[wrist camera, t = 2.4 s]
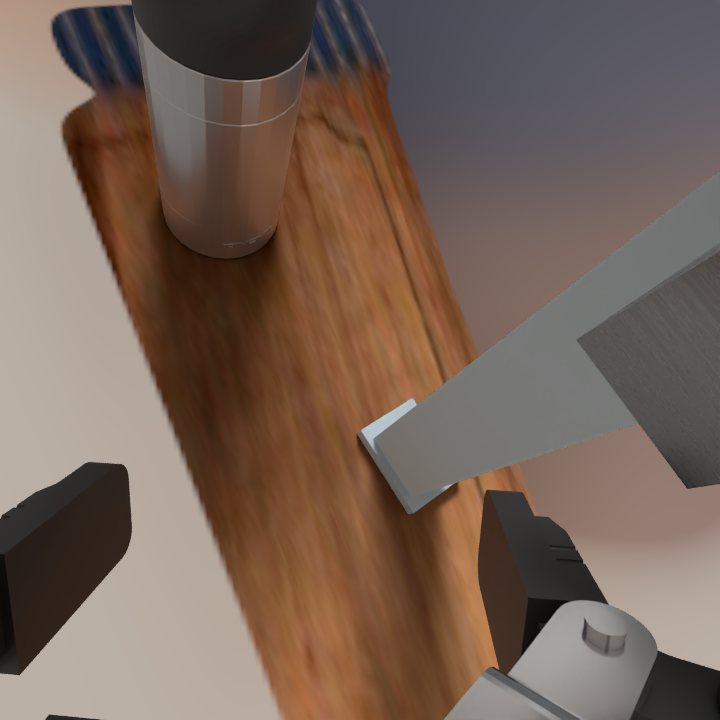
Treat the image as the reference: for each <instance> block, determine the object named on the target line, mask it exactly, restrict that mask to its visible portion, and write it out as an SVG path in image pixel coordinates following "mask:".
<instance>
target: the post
mask: <svg viewBox="0 0 720 720" xmlns="http://www.w3.org/2000/svg"><path fill="white" fill-rule="evenodd" d="M718 243H720V171H719V172H718V173H716V174H715V175H714V176H713V177H711V178H710V179H709V180H707V181H706V182H705V183H704V184H702V185H701V186H700V187H698V188H697V189H696V190H695V191H693V192H692V193H691V194H689V195H688V196H687V197H685V198H684V199H683V200H681V201H680V202H679V203H678V204H676V205H675V206H674V207H672V208H671V209H670V210H669V211H667V212H666V213H665V214H664V215H662V216H661V217H660V218H658V219H657V220H656V221H654V222H653V223H652V224H650V225H649V226H648V227H647V228H645V229H644V230H643V231H641V232H640V233H639V234H638V235H637V236H635V237H634V238H632V239H631V240H630V241H628V242H627V243H626V244H625V245H623V246H622V247H621V248H619V249H618V250H617V251H615V252H614V253H613V254H612V255H610V256H609V257H608V258H606V259H605V260H604V261H603V262H601V263H600V264H599V265H597V266H596V267H595V268H593V269H592V270H591V271H590V272H588V273H587V274H586V275H584V276H583V277H582V278H581V279H579V280H578V281H577V282H575V283H574V284H573V285H572V286H570V287H569V288H568V289H566V290H565V291H564V292H562V293H561V294H560V295H559V296H557V297H556V298H555V299H553V300H552V301H551V302H550V303H548V304H547V305H546V306H544V307H543V308H542V309H540V310H539V311H538V312H537V313H535V314H534V315H533V316H531V317H530V318H529V319H528V320H526V321H525V322H524V323H522V324H521V325H520V326H518V327H517V328H516V329H515V330H513V331H512V332H511V333H509V334H508V335H507V336H505V337H504V338H503V339H502V340H500V341H499V342H498V343H496V344H495V345H494V346H493V347H491V348H490V349H489V350H487V351H486V352H485V353H484V354H482V355H481V356H480V357H478V358H477V359H476V360H474V361H473V362H472V363H471V364H469V365H468V366H467V367H465V368H464V369H463V370H461V371H460V372H459V373H458V374H456V375H455V376H454V377H452V378H451V379H450V380H449V381H447V382H446V383H445V384H443V385H442V386H441V387H439V388H438V389H437V390H436V391H434V392H433V393H432V394H430V395H429V396H428V397H427V398H425V399H424V400H423V401H421V402H420V403H419V404H416V402H415V401H414V399H413V398H412V399H410V400H409V401H407V402H405V403H404V404H402V405H401V406H399V407H397V408H396V409H394V410H393V411H391V412H389V413H388V414H386V415H385V416H383V417H381V418H380V419H378V420H377V421H375V422H373V423H372V424H370V425H369V426H367V427H365V428H364V429H362V430H361V431H360V432H358V433H357V435H358V436H359V438H360V440H361V441H362V443H363V444H364V446H365V447H366V449H367V451H368V452H369V454H370V455H371V457H372V458H373V460H374V462H375V463H376V465H377V466H378V468H379V469H380V471H381V473H382V474H383V476H384V477H385V479H386V480H387V482H388V484H389V485H390V487H391V488H392V490H393V491H394V493H395V495H396V496H397V498H398V499H399V501H400V502H401V504H402V506H403V507H404V509H405V510H406V512H407V513H408V514H412V513H415V512H416V511H417V510H419V509H420V508H422V507H423V506H424V505H426V504H427V503H428V502H430V501H431V500H432V499H434V498H435V497H436V496H438V495H439V494H440V493H442V492H443V491H445V490H446V489H447V488H449V487H450V486H451V485H453V484H454V483H457V482H460V481H463V480H466V479H469V478H472V477H475V476H478V475H481V474H485V473H488V472H491V471H494V470H497V469H500V468H503V467H506V466H509V465H512V464H515V463H519V462H521V461H525V460H528V459H531V458H534V457H537V456H540V455H543V454H546V453H549V452H552V451H556V450H558V449H562V448H565V447H568V446H571V445H574V444H577V443H580V442H583V441H586V440H590V439H593V438H596V437H599V436H602V435H605V434H608V433H611V432H614V431H617V430H620V429H623V428H627V427H630V426H633V425H636V424H639V423H638V422H637V421H636V419H635V418H634V417H633V415H632V414H631V413H630V411H629V410H628V408H627V407H626V406H625V404H624V403H623V402H622V400H621V399H620V398H619V396H618V395H617V394H616V392H615V391H614V390H613V388H612V387H611V386H610V384H609V383H608V382H607V380H606V379H605V378H604V376H603V375H602V374H601V372H600V371H599V370H598V368H597V367H596V366H595V364H594V363H593V362H592V360H591V359H590V358H589V356H588V355H587V354H586V352H585V351H584V350H583V348H582V347H581V346H580V344H579V343H578V342H577V340H576V339H578V338H579V337H581V336H582V335H584V334H585V333H587V332H588V331H590V330H591V329H593V328H594V327H596V326H597V325H598V324H600V323H601V322H603V321H604V320H606V319H607V318H609V317H610V316H612V315H613V314H615V313H616V312H618V311H619V310H621V309H622V308H624V307H625V306H627V305H628V304H630V303H631V302H633V301H634V300H636V299H637V298H638V297H640V296H641V295H643V294H644V293H646V292H647V291H649V290H650V289H652V288H653V287H655V286H656V285H658V284H659V283H661V282H662V281H664V280H665V279H667V278H668V277H670V276H671V275H673V274H674V273H676V272H677V271H678V270H680V269H681V268H683V267H684V266H686V265H687V264H689V263H690V262H692V261H693V260H695V259H696V258H698V257H699V256H701V255H702V254H704V253H705V252H707V251H708V250H710V249H711V248H713V247H714V246H715V245H717V244H718Z"/></svg>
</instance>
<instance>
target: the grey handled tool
mask: <svg viewBox="0 0 720 720" xmlns="http://www.w3.org/2000/svg"><path fill="white" fill-rule="evenodd" d="M576 340H577V342H578V343H579V344H580V346H581V347H582V348H583V350H584V351H585V352H586V354H587V355H588V356H589V358H590V359H591V360H592V362H593V363H594V364H595V366H596V367H597V368H598V370H599V371H600V372H601V374H602V375H603V376H604V378H605V379H606V380H607V382H608V383H609V384H610V386H611V387H612V388H613V390H614V391H615V392H616V394H617V395H618V396H619V398H620V399H621V400H622V402H623V403H624V404H625V406H626V407H627V408H628V410H629V411H630V413H631V414H632V415H633V417H634V418H635V419H636V421H637V422H638V423H639V425H640V426H641V427H642V428H643V430H644V431H645V433H646V434H647V435H648V436H649V438H650V439H651V440H652V442H653V443H654V444H655V446H656V447H657V449H658V450H659V451H660V453H661V454H662V455H663V457H664V458H665V459H666V461H667V462H668V463H669V464H670V466H671V467H672V469H673V470H674V471H675V473H676V474H677V475H678V477H679V478H680V479H681V481H682V482H683V483H684V485H685V486H686V488H688V489H690V488H696V487H703V486H709V485H715V484H720V243H718V244H717V245H715V246H714V247H713V248H711V249H710V250H708V251H707V252H705V253H704V254H702V255H701V256H699V257H698V258H696V259H695V260H693V261H692V262H690V263H689V264H687V265H686V266H684V267H683V268H681V269H680V270H678V271H677V272H676V273H674V274H673V275H671V276H670V277H668V278H667V279H665V280H664V281H662V282H661V283H659V284H658V285H656V286H655V287H653V288H652V289H650V290H649V291H647V292H646V293H644V294H643V295H641V296H640V297H638V298H637V299H636V300H634V301H633V302H631V303H630V304H628V305H627V306H625V307H624V308H622V309H621V310H619V311H618V312H616V313H615V314H613V315H612V316H610V317H609V318H607V319H606V320H604V321H603V322H601V323H600V324H598V325H597V326H596V327H594V328H593V329H591V330H590V331H588V332H587V333H585V334H584V335H582V336H581V337H579V338H578V339H576Z"/></svg>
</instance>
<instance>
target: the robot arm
mask: <svg viewBox="0 0 720 720" xmlns="http://www.w3.org/2000/svg"><path fill="white" fill-rule="evenodd" d="M316 6H317V0H132V7H133V12H134V19H135V26H136V32H137V39H138V46H139V52H140V58H141V64H142V71H143V77H144V84H145V91H146V98H147V104H148V111H149V118H150V125H151V132H152V138H153V145H154V152H155V159H156V165H157V172H158V180H159V187H160V194H161V201H162V207H163V214H164V217H165V220H166V224H167V226H168V227H169V229H170V231H171V232H172V234H173V235H174V236H175V237H176V238H177V239H178V240H179V241H180V242H181V243H182V244H184V245H185V246H186V247H188V248H189V249H191V250H193V251H195V252H197V253H200V254H202V255H206V256H209V257H213V258H224V259H228V258H238V257H242V256H245V255H249V254H251V253H253V252H255V251H257V250H259V249H260V248H261V247H263V246H264V245H265V244H266V243H267V242H268V241H269V240H270V238H271V237H272V235H273V234H274V231H275V229H276V226H277V222H278V217H279V211H280V206H281V200H282V196H283V190H284V185H285V179H286V174H287V169H288V163H289V158H290V152H291V147H292V141H293V136H294V130H295V125H296V119H297V114H298V109H299V103H300V98H301V92H302V87H303V80H304V75H305V69H306V64H307V58H308V53H309V47H310V42H311V36H312V31H313V25H314V18H315V12H316ZM131 533H132V523H131V508H130V492H129V477H128V472H127V469H126V467H125V466H124V465H122V464H109V463H95V462H88V463H85V464H84V465H82V466H81V467H80V468H78V469H77V470H75V471H74V472H72V473H71V474H70V475H68V476H67V477H65V478H64V479H63V480H61V481H60V482H58V483H57V484H54V485H52V486H50V487H47V488H45V489H42V490H40V491H37V492H35V493H34V494H32V495H31V496H29V497H28V498H27V499H25V500H24V501H22V502H21V503H19V504H18V505H17V508H12V509H11V510H9V511H8V512H6V513H5V514H3V515H2V517H1V519H0V673H2V674H3V673H4V674H14V675H20V674H21V673H22V672H23V671H24V670H25V668H26V667H27V666H28V665H29V664H30V663H31V662H32V661H33V659H34V658H35V657H36V656H37V655H38V654H39V653H40V651H41V650H42V649H43V648H44V647H45V646H46V644H47V643H48V642H49V641H50V640H51V639H52V638H53V637H54V635H55V634H56V633H57V632H58V631H59V629H60V628H61V627H62V626H63V625H64V624H65V623H66V622H67V620H68V619H69V618H70V617H71V616H72V615H73V614H74V612H75V611H76V610H77V609H78V608H79V607H80V606H81V604H82V603H83V602H84V601H85V600H86V599H87V598H88V596H89V595H90V594H91V593H92V592H93V591H94V590H95V588H96V587H97V586H98V585H99V584H100V583H101V582H102V580H103V579H104V578H105V577H106V576H107V575H108V573H109V572H110V571H111V570H112V569H113V568H114V567H115V566H116V564H117V563H118V562H119V561H120V560H121V559H122V557H123V556H124V555H125V553H126V551H127V549H128V546H129V543H130V539H131ZM478 578H479V585H480V590H481V594H482V598H483V603H484V607H485V611H486V615H487V619H488V624H489V628H490V632H491V636H492V641H493V645H494V649H495V653H496V657H497V662H498V666H499V670H498V669H496V668H495V667H490V668H488V669H487V670H485V671H484V672H483V673H482V674H481V675H480V677H479V678H478V679H477V680H476V681H475V683H474V684H473V685H472V686H471V687H470V689H469V690H468V691H467V692H466V693H465V695H464V696H463V697H462V698H461V700H460V701H459V702H458V703H457V704H456V706H455V707H454V708H453V709H452V710H451V712H450V713H449V714H448V715H447V716H446V718H445V719H444V720H720V671H718V670H714V669H711V668H708V667H705V666H701V665H698V664H695V663H691V662H688V661H685V660H681V659H678V658H675V657H672V656H669V655H667V654H664V653H662V652H660V651H658V650H657V645H656V642H655V639H654V638H653V636H652V634H651V633H650V632H649V631H648V630H647V628H645V626H644V625H642V624H641V623H640V622H639V621H638V620H636V619H635V618H634V617H632V616H631V615H629V614H627V613H626V612H624V611H622V610H620V609H618V608H615V607H612V606H610V605H609V604H608V603H607V601H606V599H605V597H604V595H603V594H602V592H601V590H600V589H599V587H598V585H597V583H596V582H595V580H594V579H593V577H592V575H591V573H590V571H589V570H588V568H587V566H586V565H585V564H583V559H582V558H581V556H580V554H579V553H578V551H577V550H575V546H574V544H573V542H572V540H571V539H570V537H569V535H568V534H567V532H566V531H565V530H564V529H562V528H561V527H560V526H559V525H558V524H556V523H555V522H554V521H552V520H551V519H550V518H549V517H539V516H534V514H533V512H532V510H531V508H530V506H529V504H528V502H527V500H526V498H525V496H524V494H523V493H522V492H512V491H497V490H487V491H486V493H485V497H484V504H483V514H482V524H481V534H480V544H479V554H478ZM46 720H99V719H87V718H79V717H68V716H58V715H49V716H48V717H47V718H46Z"/></svg>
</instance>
